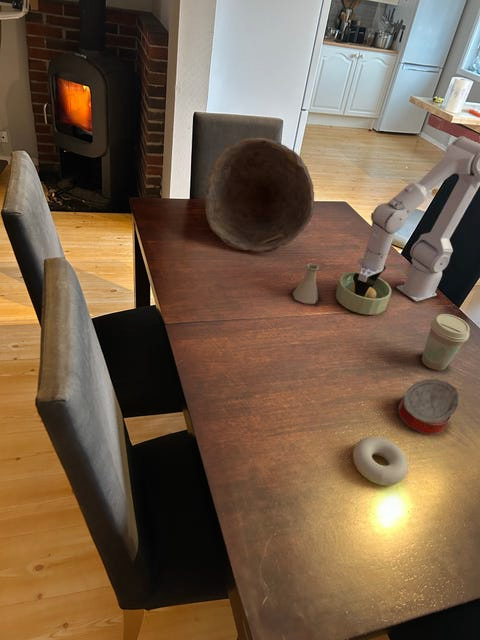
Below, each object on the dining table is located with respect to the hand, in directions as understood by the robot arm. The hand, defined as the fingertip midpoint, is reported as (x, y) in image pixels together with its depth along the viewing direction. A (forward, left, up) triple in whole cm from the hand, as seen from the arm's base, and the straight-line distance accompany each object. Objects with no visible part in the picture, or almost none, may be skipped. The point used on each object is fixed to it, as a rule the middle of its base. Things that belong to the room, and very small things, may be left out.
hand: (363, 292), depth 131 cm
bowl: (+6, -43, -3) cm, 43 cm away
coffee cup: (+1, +27, -3) cm, 28 cm away
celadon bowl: (0, 0, -3) cm, 3 cm away
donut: (+36, +43, -3) cm, 57 cm away
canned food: (+18, +38, -3) cm, 43 cm away
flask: (+14, -8, -3) cm, 16 cm away
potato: (0, 0, -2) cm, 2 cm away
